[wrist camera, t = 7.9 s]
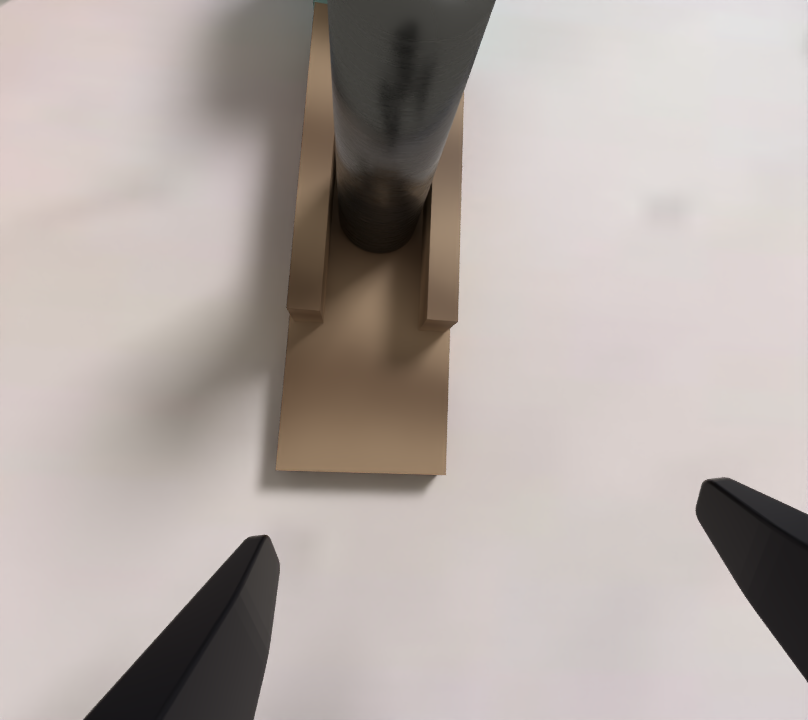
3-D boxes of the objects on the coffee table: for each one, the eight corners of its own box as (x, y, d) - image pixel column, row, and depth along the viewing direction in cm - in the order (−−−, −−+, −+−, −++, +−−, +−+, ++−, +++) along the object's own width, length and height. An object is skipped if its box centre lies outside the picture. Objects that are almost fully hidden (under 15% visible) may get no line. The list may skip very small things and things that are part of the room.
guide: (440, 471, 17) (458, 483, 14) (280, 466, 16) (264, 478, 13) (452, 86, 20) (470, 29, 17) (315, 64, 19) (309, 1, 16)
